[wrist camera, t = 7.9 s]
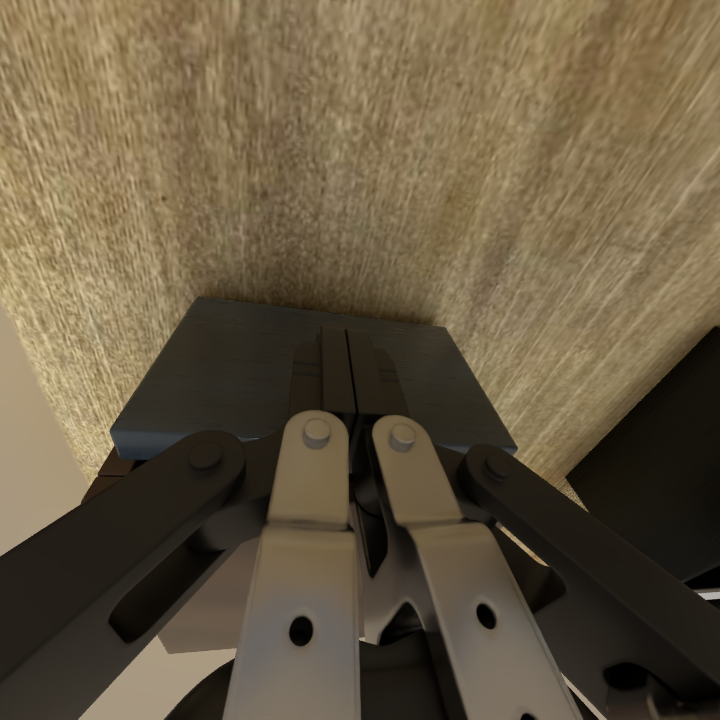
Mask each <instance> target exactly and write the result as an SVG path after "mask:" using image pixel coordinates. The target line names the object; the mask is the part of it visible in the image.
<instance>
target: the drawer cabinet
mask: <svg viewBox="0 0 720 720" xmlns="http://www.w3.org/2000/svg"><path fill="white" fill-rule="evenodd" d="M147 461H148V460H123V459H120V458H119V455H118V453H117V450H116V447H115V446H114V447H113V449H112V451H111V452H110V454H109V456H108V457H107V459H106V461H105V462H104V464H103V465H102V467H101V469H100V470H99V472H98V477H96V478H95V480H94V481H93V483H92V484H91V486H90V488H89V489H88V491H87V493H86V494H85V496H84V498H83V499H82V501H81V504H82V503H84V502H85V501H87V500H88V499H90V498H91V497H93V496H94V495H96V494H98V493H99V492H101V491H102V490H104V489H105V488H107V487H108V486H110V485H111V484H113V483H114V482H116V481H118V480H119V479H121V478H122V477H124V476H125V475H127V474H128V473H130V472H131V471H133V470H135V469H136V468H138V467H139V466H141V465H142V464H144V463H145V462H147ZM352 489H353V481H349V522H350V526H351V527H353V529H354V524H353V518H352V512H351V506H350V495H351V492H352ZM496 526H497V527H498V528H499V529H500V528H501V527H502V526H503V525H502V524H500V523H499V522H498V523H497V524H496ZM354 531H355V530H354ZM259 540H260V537H257V538H254V539H252V540H249V541H246V542H243V543H241V544H240V545H239V547H238V548H237V549H236V550H235V551H234V552H233V554H232V555H231V556H230V557H229V558H228V559H227V560H226V561H225V562H224V563H223V564H222V565H221V566H220V567H219V569H218V570H217V571H216V572H215V573H214V574H213V575H212V576H211V577H210V578H209V579H208V580H207V581H206V583H205V584H204V585H203V586H202V587H201V588H200V589H199V590H198V591H197V592H196V593H195V594H194V595H193V596H192V598H191V599H190V600H189V601H188V602H187V603H186V604H185V605H184V606H183V607H182V608H181V609H180V610H179V611H178V613H177V614H176V615H175V616H174V617H173V618H172V619H171V620H170V621H169V622H168V623H167V624H166V625H165V626H164V628H163V629H162V630H161V631H160V632H159V633H158V634H157V635H158V637H159V639H160V640H161V642H162V644H163V646H164V647H165V649H166V651H167V652H168V653H169V654H173V653H185V652H196V651H208V650H220V649H231V648H237V646H238V641H239V636H240V631H241V627H242V622H243V617H244V612H245V607H246V602H247V598H248V593H249V588H250V583H251V578H252V573H253V568H254V564H255V559H256V554H257V549H258V544H259ZM356 547H357V542H356ZM357 582H358V622H359V638H360V637H365V634H364V627H363V619H362V596H363V580H362V573H361V567H360V560H359V554H358V548H357Z"/></svg>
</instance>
